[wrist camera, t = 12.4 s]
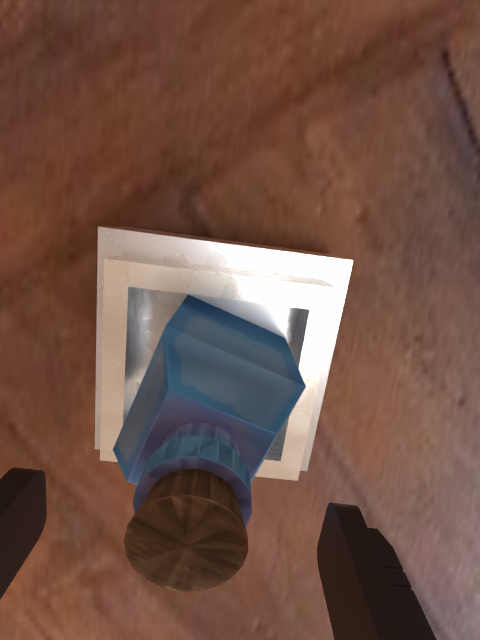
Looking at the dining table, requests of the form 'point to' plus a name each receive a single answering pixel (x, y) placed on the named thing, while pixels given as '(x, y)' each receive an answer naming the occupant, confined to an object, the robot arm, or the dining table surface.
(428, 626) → the robot arm
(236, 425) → the perfume bottle
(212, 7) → the dining table surface
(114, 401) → the white square stand
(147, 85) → the dining table surface
